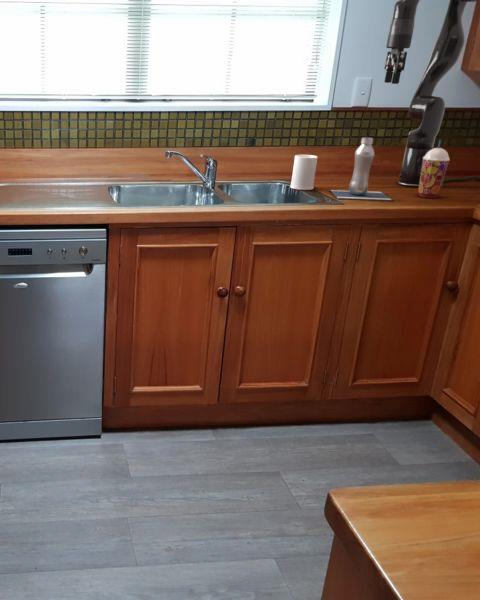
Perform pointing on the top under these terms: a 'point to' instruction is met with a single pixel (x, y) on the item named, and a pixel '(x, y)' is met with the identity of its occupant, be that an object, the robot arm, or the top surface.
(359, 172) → the plastic bottle
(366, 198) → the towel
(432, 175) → the smoothie
